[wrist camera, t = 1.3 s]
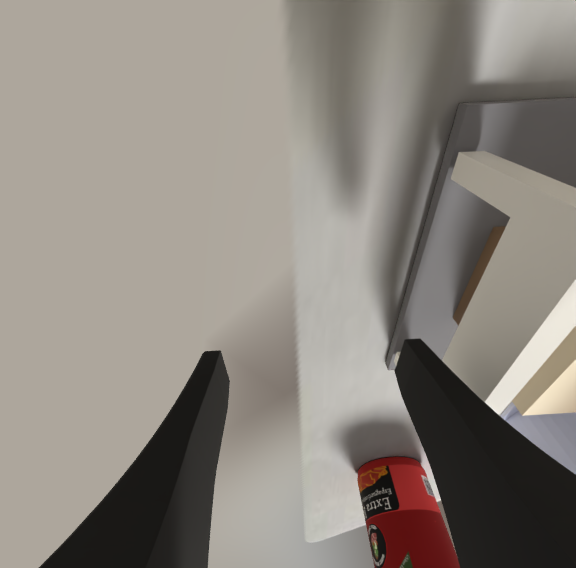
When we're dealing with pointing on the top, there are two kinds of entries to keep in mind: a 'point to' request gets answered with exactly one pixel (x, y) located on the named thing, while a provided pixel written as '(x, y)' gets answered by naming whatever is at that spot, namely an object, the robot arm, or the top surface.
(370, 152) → the top surface
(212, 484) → the robot arm
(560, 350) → the birch cube
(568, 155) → the rubber mat
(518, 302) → the gate
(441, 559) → the canned food
